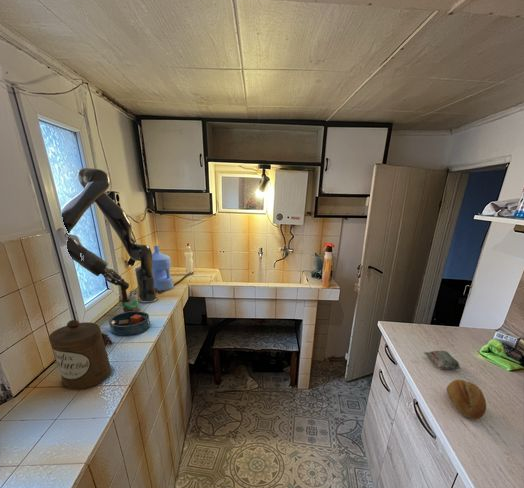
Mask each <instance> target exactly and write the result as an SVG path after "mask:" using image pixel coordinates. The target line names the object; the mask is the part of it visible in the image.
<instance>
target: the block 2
mask: <svg viewBox="0 0 524 488" xmlns="http://www.w3.org/2000/svg"><path fill="white" fill-rule="evenodd" d="M130 320H131V325H134V324H138V323H140V322H143V316H142V315H134V316H132V317H130Z"/></svg>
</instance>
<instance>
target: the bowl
mask: <svg viewBox="0 0 524 488" xmlns="http://www.w3.org/2000/svg"><path fill="white" fill-rule="evenodd" d="M134 315H142V316H143V322H140V323H138V324H134V325H131V320H130V317H132V316H134ZM119 320H129V324H130V325H129V326H118V323H119ZM108 326H109V330H110V332H111V333H113V334H114V335H117V336H133V335H137V334H141V333H143V332H144V331H146V330H147V329H148V328H149V327H150V326H151V319H150V315H149V314H148V313H147V312H145V311H141V310H140V311H139V310H138V311H132V312H125V313H124V312H120V313H118V314H115V315H114V316H112V317H110V318H109V319H108Z"/></svg>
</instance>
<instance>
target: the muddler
mask: <svg viewBox="0 0 524 488" xmlns="http://www.w3.org/2000/svg"><path fill="white" fill-rule="evenodd" d="M120 280H121V281H123V282H124V283H125V282H126V281H125V278H122V279H120ZM119 289H120V294H121V298H122V299H121V298H120V302H121V304H122V303H126V302H129V301H130V298H127V294H128V293H127V290H125V289H124V288H122V287H121V286H120V285H119Z"/></svg>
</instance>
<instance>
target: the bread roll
mask: <svg viewBox="0 0 524 488" xmlns="http://www.w3.org/2000/svg"><path fill="white" fill-rule="evenodd" d="M446 393H447V395H448V398H449V399H450V401H451V403H452V405H454V407H455V409H456V410H458V412H460V413H461V414H462V415H463V416H465V417H467V418H469V419H472V420H478V419H481V418H482V417H483V416H484V415H485V414H486V410H487V401H486V397H485V395H484V393H483V391H482V390H481V389H480V387H479V386H478V385H477V384H475V383H472V382H470V381H467V380H463V379H454V380H452V381H451V382H450V383H449V384H448V385H447V386H446Z"/></svg>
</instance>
